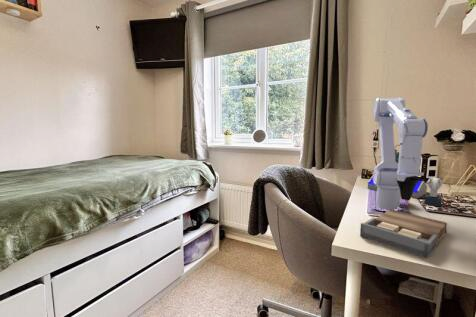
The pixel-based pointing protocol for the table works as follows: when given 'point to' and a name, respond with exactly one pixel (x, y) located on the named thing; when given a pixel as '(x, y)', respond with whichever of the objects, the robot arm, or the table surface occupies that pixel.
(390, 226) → the tile
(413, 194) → the roof
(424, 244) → the slate bin
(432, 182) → the grey and teal figurine
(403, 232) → the tile
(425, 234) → the walnut board
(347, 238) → the table surface
